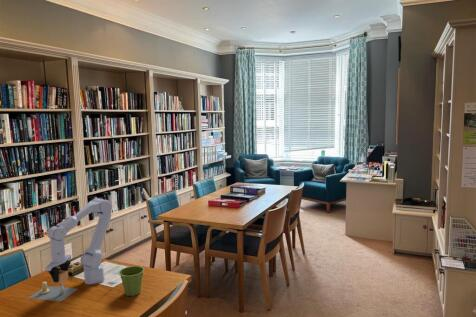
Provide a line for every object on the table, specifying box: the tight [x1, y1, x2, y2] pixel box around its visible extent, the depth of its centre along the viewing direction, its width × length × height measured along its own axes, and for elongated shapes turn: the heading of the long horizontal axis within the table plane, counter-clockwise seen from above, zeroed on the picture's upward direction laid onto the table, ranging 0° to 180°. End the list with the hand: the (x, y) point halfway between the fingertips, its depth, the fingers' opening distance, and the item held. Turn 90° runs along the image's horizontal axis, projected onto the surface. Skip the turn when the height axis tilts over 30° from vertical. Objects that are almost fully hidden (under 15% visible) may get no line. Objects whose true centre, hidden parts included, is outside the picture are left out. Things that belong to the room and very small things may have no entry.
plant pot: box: [118, 265, 145, 297], centre depth 168 cm, size 12×12×11 cm
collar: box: [51, 269, 69, 284], centre depth 164 cm, size 5×5×4 cm
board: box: [27, 281, 78, 302], centre depth 166 cm, size 18×12×6 cm, turn 78°
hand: (60, 279), depth 165 cm, fingers closed on collar, 5 cm apart
